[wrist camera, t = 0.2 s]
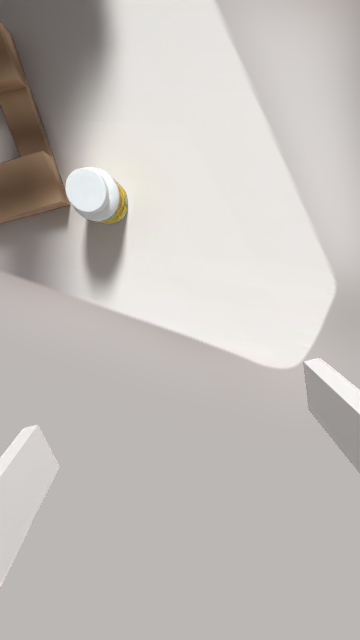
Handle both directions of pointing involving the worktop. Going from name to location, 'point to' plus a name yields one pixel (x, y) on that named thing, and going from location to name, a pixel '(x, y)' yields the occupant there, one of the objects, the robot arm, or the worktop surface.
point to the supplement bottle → (96, 195)
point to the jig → (25, 145)
